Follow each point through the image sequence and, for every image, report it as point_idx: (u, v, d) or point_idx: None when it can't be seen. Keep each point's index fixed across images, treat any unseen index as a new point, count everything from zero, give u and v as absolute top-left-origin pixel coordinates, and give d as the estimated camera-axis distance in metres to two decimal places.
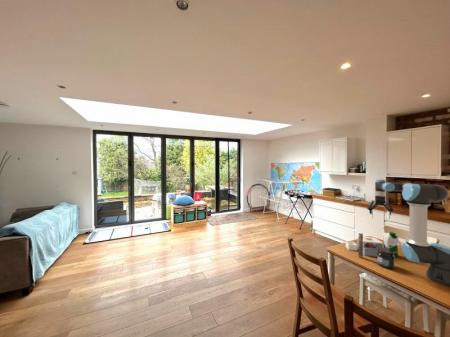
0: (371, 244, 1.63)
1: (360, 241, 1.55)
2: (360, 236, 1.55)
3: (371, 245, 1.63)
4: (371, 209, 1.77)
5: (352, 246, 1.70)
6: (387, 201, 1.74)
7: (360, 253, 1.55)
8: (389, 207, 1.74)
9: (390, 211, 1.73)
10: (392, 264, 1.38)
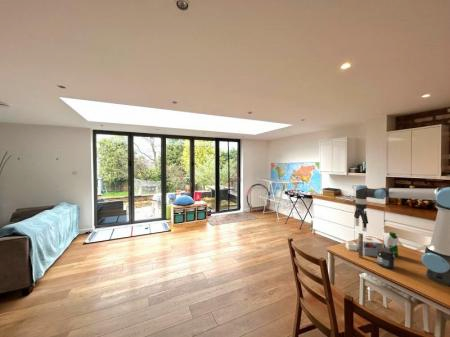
0: (371, 244, 1.63)
1: (360, 241, 1.55)
2: (360, 236, 1.55)
3: (371, 245, 1.63)
4: (355, 216, 1.63)
5: (352, 246, 1.70)
6: (363, 211, 1.50)
7: (360, 253, 1.55)
8: None
9: (363, 223, 1.49)
10: (392, 264, 1.38)
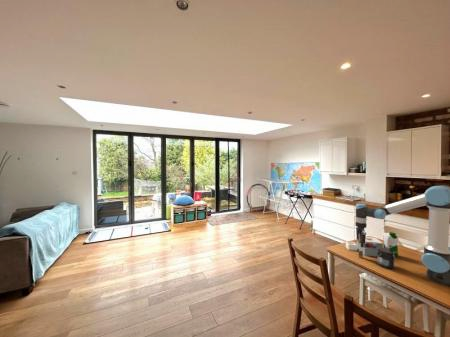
0: (371, 244, 1.63)
1: None
2: None
3: (371, 245, 1.63)
4: (357, 239, 1.59)
5: (352, 246, 1.70)
6: (363, 232, 1.51)
7: (360, 253, 1.55)
8: None
9: (360, 242, 1.54)
10: (392, 264, 1.38)
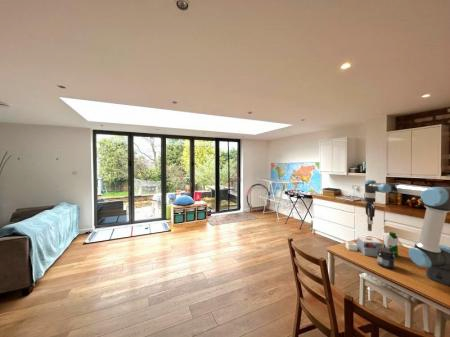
0: (371, 244, 1.63)
1: None
2: None
3: (371, 245, 1.63)
4: (366, 213, 1.68)
5: (352, 246, 1.70)
6: (372, 206, 1.60)
7: (369, 226, 1.64)
8: None
9: None
10: (392, 264, 1.38)
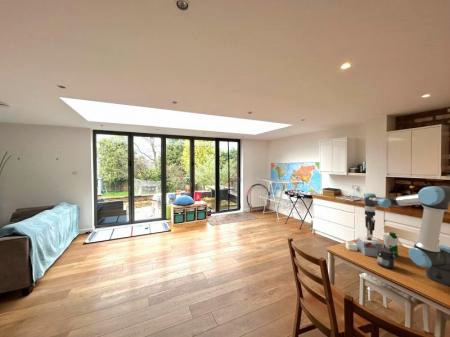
0: (371, 246, 1.63)
1: None
2: None
3: None
4: (366, 227, 1.68)
5: (352, 246, 1.70)
6: (372, 219, 1.60)
7: None
8: None
9: (369, 229, 1.63)
10: (392, 264, 1.38)
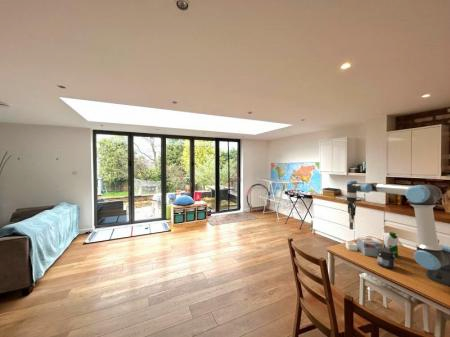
0: None
1: None
2: None
3: None
4: (348, 212, 1.75)
5: (352, 246, 1.70)
6: (353, 205, 1.67)
7: (351, 225, 1.72)
8: None
9: (351, 215, 1.70)
10: (392, 264, 1.38)
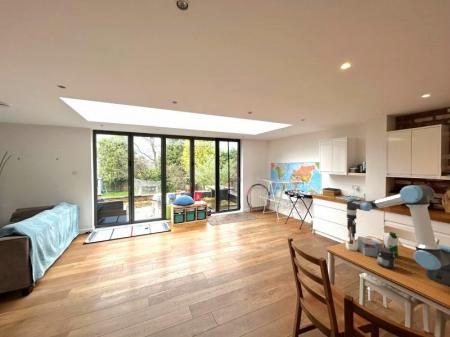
0: None
1: None
2: None
3: None
4: (348, 228, 1.77)
5: (352, 246, 1.70)
6: None
7: None
8: None
9: None
10: (392, 264, 1.38)
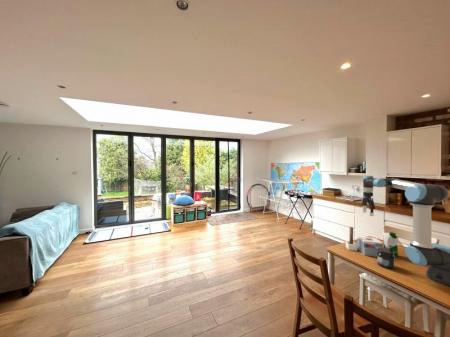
0: None
1: (351, 234, 1.72)
2: (351, 229, 1.72)
3: None
4: (362, 204, 1.82)
5: (352, 246, 1.70)
6: (370, 198, 1.69)
7: None
8: None
9: (370, 208, 1.68)
10: (392, 264, 1.38)
